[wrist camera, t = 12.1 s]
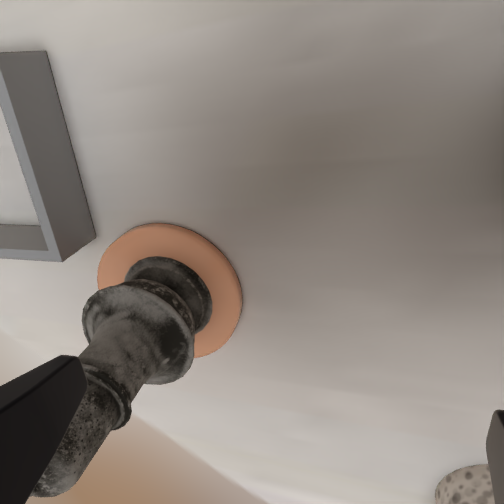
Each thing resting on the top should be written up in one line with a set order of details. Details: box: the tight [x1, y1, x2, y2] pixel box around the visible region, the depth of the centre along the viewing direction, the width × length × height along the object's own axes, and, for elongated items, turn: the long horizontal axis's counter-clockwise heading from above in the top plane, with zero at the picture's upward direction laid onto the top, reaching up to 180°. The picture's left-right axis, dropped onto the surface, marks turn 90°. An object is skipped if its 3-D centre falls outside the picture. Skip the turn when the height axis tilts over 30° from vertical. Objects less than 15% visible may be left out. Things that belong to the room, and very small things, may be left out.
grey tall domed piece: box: [29, 256, 212, 497], centre depth 18 cm, size 6×6×12 cm
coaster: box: [97, 223, 242, 358], centre depth 23 cm, size 8×8×1 cm
